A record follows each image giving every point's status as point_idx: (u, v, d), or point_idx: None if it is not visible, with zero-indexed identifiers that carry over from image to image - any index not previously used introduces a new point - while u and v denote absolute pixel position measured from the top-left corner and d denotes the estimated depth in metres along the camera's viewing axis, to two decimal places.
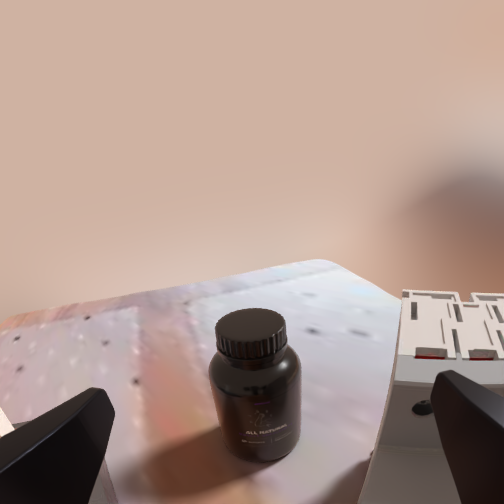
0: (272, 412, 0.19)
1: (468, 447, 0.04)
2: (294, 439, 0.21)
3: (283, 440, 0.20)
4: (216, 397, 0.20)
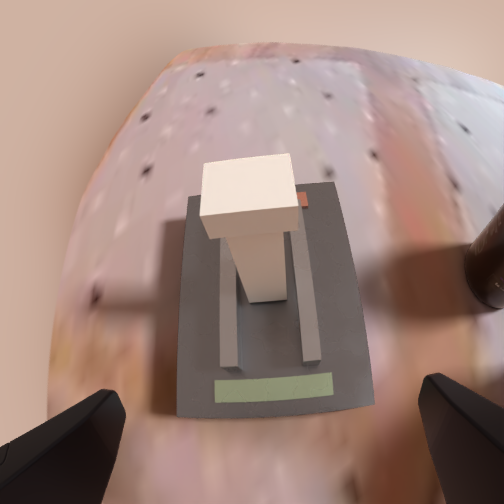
0: None
1: (454, 452, 0.04)
2: None
3: None
4: None
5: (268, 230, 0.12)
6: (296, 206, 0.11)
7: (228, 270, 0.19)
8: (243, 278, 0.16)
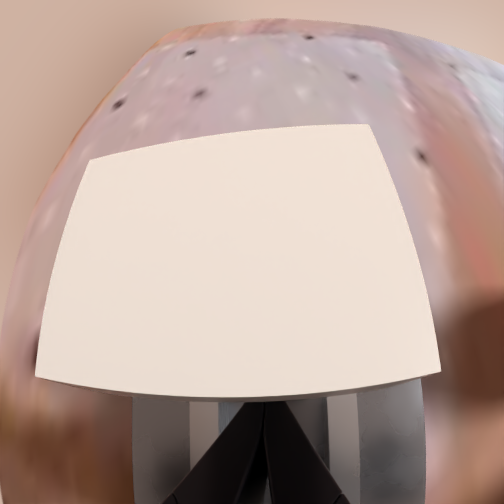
0: None
1: None
2: None
3: None
4: None
5: (291, 399, 0.03)
6: (431, 373, 0.02)
7: None
8: None
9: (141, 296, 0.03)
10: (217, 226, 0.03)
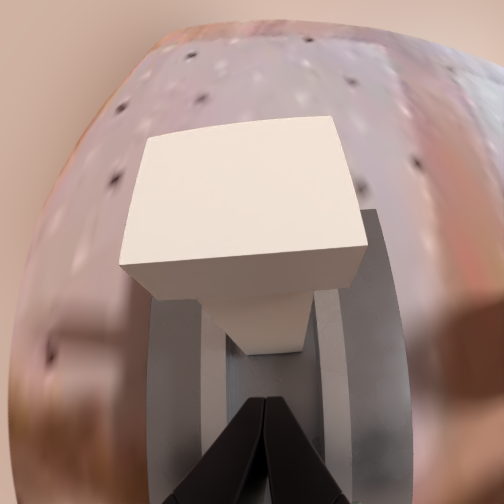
0: None
1: None
2: None
3: None
4: None
5: (285, 289, 0.05)
6: (362, 246, 0.04)
7: (214, 371, 0.11)
8: (235, 337, 0.10)
9: (196, 209, 0.05)
10: (239, 172, 0.05)
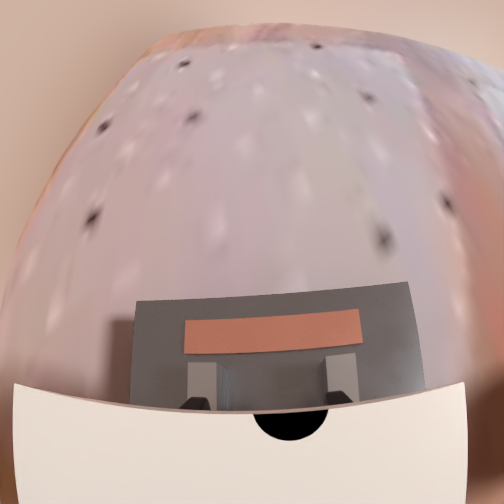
0: None
1: None
2: None
3: None
4: None
5: None
6: None
7: None
8: None
9: None
10: None
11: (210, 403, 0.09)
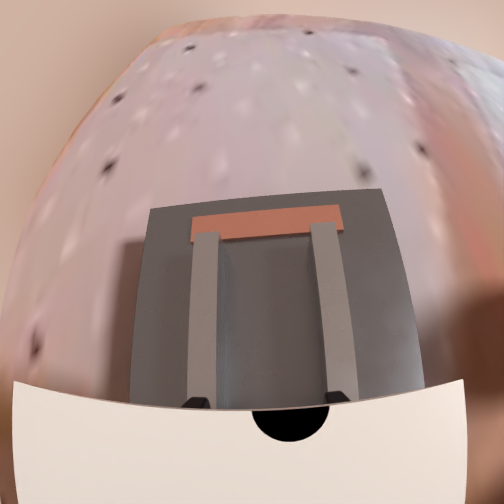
0: None
1: None
2: None
3: None
4: None
5: None
6: None
7: (203, 359, 0.10)
8: None
9: None
10: None
11: (212, 263, 0.12)
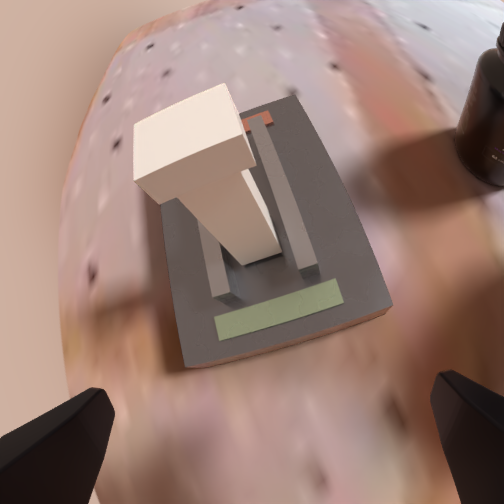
0: None
1: (468, 447, 0.04)
2: None
3: None
4: (488, 102, 0.13)
5: (221, 175, 0.10)
6: (240, 135, 0.08)
7: None
8: (221, 240, 0.14)
9: (164, 146, 0.09)
10: (181, 124, 0.09)
11: None
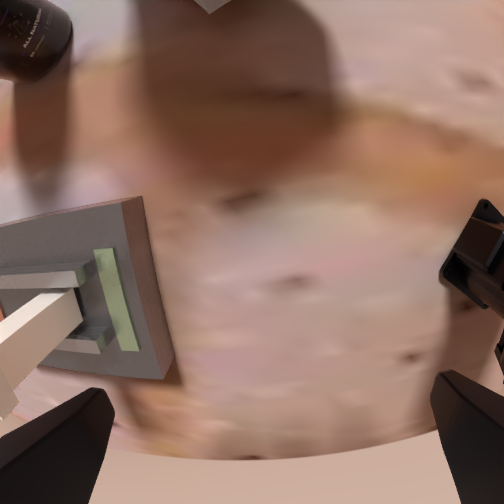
0: (19, 11, 0.09)
1: (468, 447, 0.04)
2: (60, 12, 0.13)
3: (54, 19, 0.13)
4: None
5: None
6: None
7: None
8: (52, 346, 0.15)
9: None
10: None
11: None
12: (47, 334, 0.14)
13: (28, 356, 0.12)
